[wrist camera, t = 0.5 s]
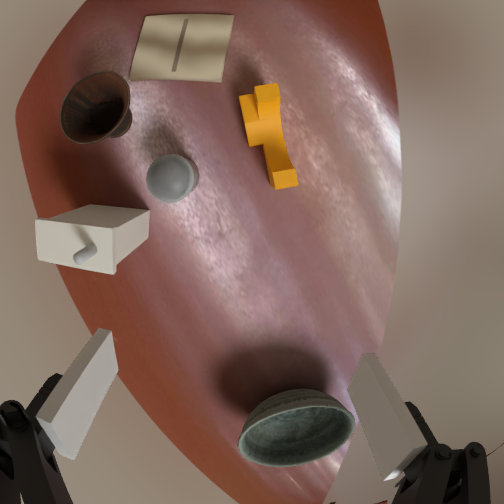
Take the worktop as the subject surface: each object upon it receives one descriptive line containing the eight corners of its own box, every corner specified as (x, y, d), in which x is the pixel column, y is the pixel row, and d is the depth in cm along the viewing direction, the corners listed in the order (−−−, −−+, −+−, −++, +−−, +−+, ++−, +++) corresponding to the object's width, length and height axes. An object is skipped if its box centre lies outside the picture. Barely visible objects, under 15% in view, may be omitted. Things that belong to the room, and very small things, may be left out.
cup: (166, 108, 33) (141, 91, 23) (126, 159, 34) (90, 160, 25) (125, 77, 31) (92, 56, 21) (88, 126, 32) (48, 120, 23)
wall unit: (88, 201, 36) (18, 225, 21) (152, 207, 37) (98, 236, 22) (87, 232, 37) (23, 268, 22) (150, 240, 38) (100, 286, 23)
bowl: (235, 369, 45) (233, 412, 36) (351, 360, 46) (369, 398, 36) (240, 434, 52) (240, 470, 42) (333, 426, 52) (343, 460, 42)
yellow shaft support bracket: (239, 101, 33) (238, 89, 27) (271, 96, 33) (277, 83, 26) (257, 187, 36) (259, 192, 30) (289, 182, 36) (298, 185, 30)
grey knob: (163, 154, 34) (149, 152, 29) (204, 157, 35) (196, 156, 29) (159, 195, 36) (144, 200, 30) (199, 199, 36) (190, 205, 31)
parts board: (148, 19, 28) (145, 16, 27) (234, 18, 28) (234, 15, 27) (131, 80, 31) (128, 79, 30) (221, 82, 32) (220, 80, 31)
